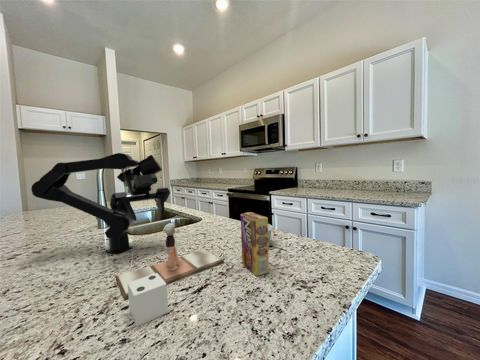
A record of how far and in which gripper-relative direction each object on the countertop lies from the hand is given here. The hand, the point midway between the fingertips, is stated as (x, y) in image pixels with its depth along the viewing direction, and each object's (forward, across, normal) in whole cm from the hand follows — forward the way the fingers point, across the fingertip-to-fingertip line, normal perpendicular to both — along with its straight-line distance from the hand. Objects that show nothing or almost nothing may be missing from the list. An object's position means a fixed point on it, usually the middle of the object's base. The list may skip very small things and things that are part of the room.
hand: (150, 217), depth 70 cm
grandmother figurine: (+19, 0, -1) cm, 19 cm away
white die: (+28, -12, -9) cm, 32 cm away
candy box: (+32, +16, -12) cm, 38 cm away
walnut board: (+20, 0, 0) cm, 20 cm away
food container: (+24, +31, -4) cm, 39 cm away
